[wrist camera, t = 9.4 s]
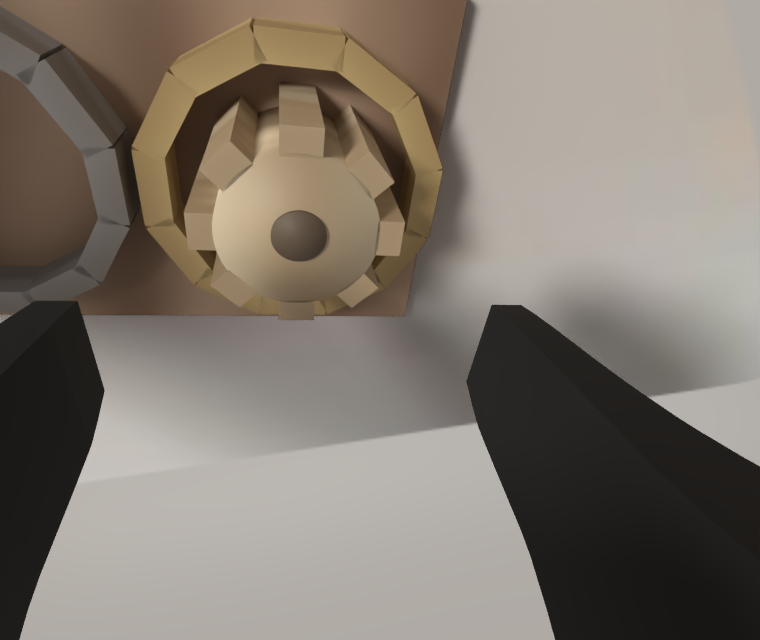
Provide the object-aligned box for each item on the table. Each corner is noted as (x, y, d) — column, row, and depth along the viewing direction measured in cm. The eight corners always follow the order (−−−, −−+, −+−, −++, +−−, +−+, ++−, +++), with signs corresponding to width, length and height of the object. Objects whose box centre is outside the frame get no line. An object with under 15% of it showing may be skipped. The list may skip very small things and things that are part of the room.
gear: (212, 247, 16) (196, 321, 13) (196, 73, 13) (170, 117, 10) (368, 252, 18) (388, 322, 14) (389, 92, 14) (420, 137, 11)
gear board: (-114, 303, 16) (-157, 343, 15) (-374, -135, 10) (-502, -149, 8) (401, 307, 20) (412, 340, 19) (462, -11, 14) (487, -3, 12)
